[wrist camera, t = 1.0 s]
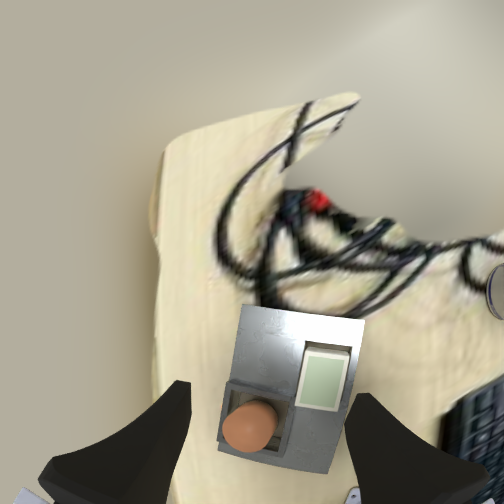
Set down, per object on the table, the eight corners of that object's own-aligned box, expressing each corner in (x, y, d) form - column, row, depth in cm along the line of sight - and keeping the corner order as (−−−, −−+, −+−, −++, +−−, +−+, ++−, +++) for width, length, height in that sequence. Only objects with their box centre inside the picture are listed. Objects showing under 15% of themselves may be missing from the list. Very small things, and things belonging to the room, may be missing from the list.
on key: (337, 400, 19) (337, 412, 16) (299, 394, 20) (294, 406, 17) (347, 351, 19) (349, 356, 17) (309, 346, 20) (305, 350, 17)
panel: (328, 464, 19) (326, 479, 16) (225, 442, 22) (213, 454, 19) (361, 320, 22) (365, 320, 19) (249, 305, 25) (238, 303, 22)
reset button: (273, 442, 19) (265, 457, 16) (232, 432, 20) (219, 444, 17) (281, 405, 20) (274, 417, 17) (239, 395, 21) (225, 405, 18)
